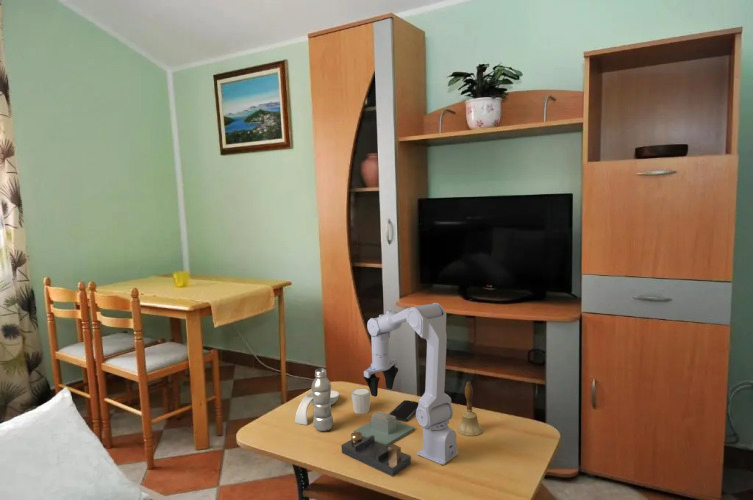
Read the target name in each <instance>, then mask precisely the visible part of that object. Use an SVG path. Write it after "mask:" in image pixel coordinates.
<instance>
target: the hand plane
mask: <svg viewBox="0 0 753 500" xmlns="http://www.w3.org/2000/svg"><path fill="white" fill-rule="evenodd" d="M350 437H351V438H350V440H348V441H346V442H345V443H343V444H341V454H343V455H345V456H348V457H350V458H352V459H354V460H356V461H358V462H361V463H362V464H365V465H367V466H369V467H371V468H373V469H375V470H377V471H379V472H381V473H384V474H386V475H388V476H390V477H392V478H393V477H394V476H396V475H397V474H399V473H401V472H402V471H404V470H405V469H406V468H408V467H409V466H411V465H412V456H411V455H409V454H406V452H403V451H402V450H401V449H402V448H401V447H400V446H398V445H397V444H394V443H392V444H390V445H389V446H386V445H383V444H381V443H378V442H376V441H375V437H374V436H373V435H372V436H370V437H368V438H366V437H364V436H362V433H360V432H354V431H353V432H352V433H351V434H350Z"/></svg>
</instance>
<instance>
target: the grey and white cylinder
mask: <svg viewBox="0 0 753 500" xmlns="http://www.w3.org/2000/svg"><path fill="white" fill-rule="evenodd" d="M350 393H351V401H352V408H353V412H354V413H355V414H357V415H363V414H364V415H365V414H367V413H369V411H370V406H371V405H370V404H371V392H370V389H368V388H355V389H352V390H351V391H350Z"/></svg>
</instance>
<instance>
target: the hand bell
mask: <svg viewBox="0 0 753 500" xmlns="http://www.w3.org/2000/svg"><path fill="white" fill-rule="evenodd" d="M465 383H466V384H465V386H464V396H465V399H466V411H464V412H463V413H462V416H461V417H462V419H461V422H460V424H459V425H458V426H457V428H456V431H457V432H458V433H459V434H461V435H462V436H467V437H477V436H480V435H481V434H482V433H484V428H483V427H482V425H481V424H480V423H479V420H478V415H477V413H476V412H474V411H473V405H472V404H473V402H472V401H473V397H474V389H473V386H472V382H471V381H466V382H465Z"/></svg>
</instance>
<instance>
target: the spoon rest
mask: <svg viewBox="0 0 753 500" xmlns="http://www.w3.org/2000/svg"><path fill="white" fill-rule="evenodd" d="M340 395H341V394H340V392H339V391H337V390H332V389H331V395H330V405H334V404H335V403H336V402H337V401H338V399H339V398H340ZM310 404H312V405H313V406H314V398H313V393H312V391H311V392H309V393H307V394H306V395H305V396H304V397H303V398H302V400H301V401H300V403H299V405H298V406H297V410H296V413H295V417H294V423H295V424H296V425H303V426H304V425H305V426H307V425H308V407H309V405H310Z"/></svg>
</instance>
